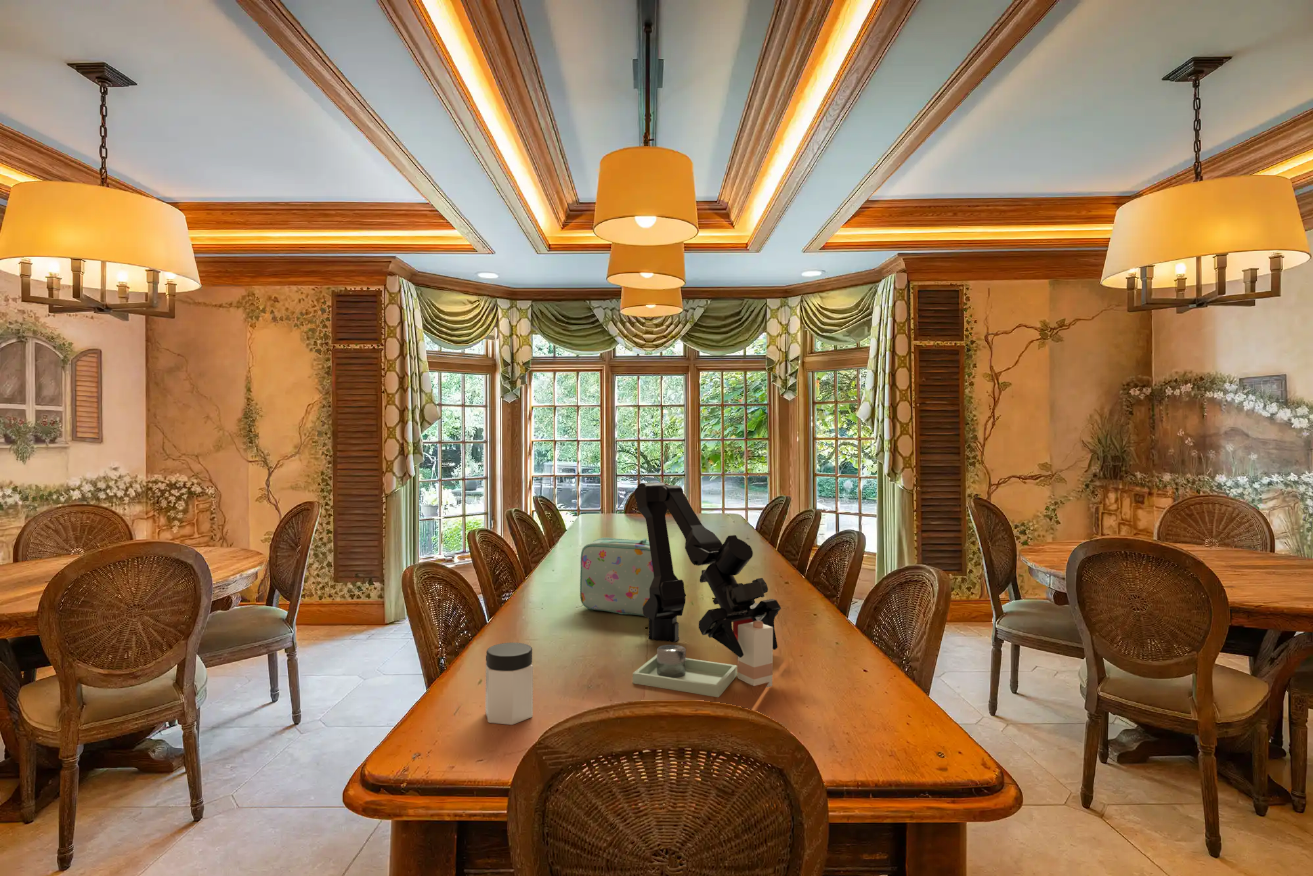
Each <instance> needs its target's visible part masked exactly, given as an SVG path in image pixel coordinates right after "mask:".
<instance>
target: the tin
mask: <svg viewBox="0 0 1313 876" xmlns="http://www.w3.org/2000/svg"><path fill="white" fill-rule="evenodd" d="M686 651H687V648H685V647H684V646H682V645H679V644H678V645H676V644H664V645H660V646H658V647H657V649H656V655H657V674H658V675H659V676H664V677H670V678H679V677H682V676H684V675H685V674H686V658H687V657H686V656H687V655H686V654H687V652H686Z"/></svg>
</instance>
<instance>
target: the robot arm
mask: <svg viewBox="0 0 1313 876" xmlns="http://www.w3.org/2000/svg"><path fill="white" fill-rule="evenodd" d="M633 495H634V498H635V503H636V507H637V510H638V511H639V512H640V514H641V515H642V516H643V517H644V519H645V522H646V523H645V524H646V529H647V537H648V540H649V545H650V552H651V559H652V566H653V573H654V578H653V581H652V583H651V586H650V588H649V593H650V598H649V599H648V601H647V602H646V603H645V605H644V606H643V608H642V609H643V615H644V616H643V617H644V618H647V619H648V640H654V641H657V642H658V641H659V642H669V643H676V642H677V641H678V640H679V639H680V635H679V622H678V621H677V620H678V617H680V616H683V613H684V609H685V605H686V597H687V593H686V591H685V583H684V580H683V579H679V578H678V577H677V575H675V572H674V565H673V558H672V552H671V547H670V539H669V533H668V531H669V530H668V526H667V525H668V524H667V519H666V515H667V512H668V511H669V513H670V515H671V516H672V518H673V520H674V521H675V522H676V525H677V527H678V529H679V530H680V532H681V533H682V535H683V537H684V540H685V543H684V549H685V552H686V554H687V556H688V559H689V560H690V563H691V564H692V565H694V566H697V567H699V566H707V567H706V568H705V569H702V570H701V574H700V576H699V582H700V583H701V584H702V583H703V584H704V583H707V584H708V587H709V588H710V590H711V592H712V595H713V596H714V598H713V599H712V603H713V604H714V605H718V606H719V607H716V608H712V609H711V608H710V609H708V610H707V611H706V612H705V614H704V615H703V616H702V618H701V619H700V620H698V629H699V631H700V633H701V635H702V636H708V638H709V639H710V638H711V639H714V640H715V641H717V642H718V643H720V644H721V645H723V646H724V647H725V648H727V649H728V650H729V651H730V652H732V653H733V654H735V655H736V656H737V658H738V657H740V658H741V657H742V656H743V655H744V654H743V651H742V649H741V646H740V644H739V642H738V640H737V638H736V636H735V634H734V632H733V622H735V621H740V620H745V619H751V618H752V620H753V621H762V622H763V624H765V625H768V626H771V627H773V650H774V651H775V650H777V649H778V646H779V645H778V642H777V641H778V640H777V635H776V630H775V618H776V616H777V615H778V614H779V612H780V610H782V607H781V605H780V604H779V602H778V600H777V599H774V598H769V599H764V600H760V601H759V604H758V605H757V606H756V607H755V608H753V609H751V608H750V606H751V605H753V604H754V603H756V601H755V600H757V599H759V598H764V597H765V593H768V591H769V588H768V584H767V582H766V581H765V579H764V578H763V577H760V578H759V577H758V578H756V579H752V581H751V582H747V583H742V582H741V583H738V582H737V579H736V578H735V576H737V575H739V574H740V572H741V571H742V570H743V569H744V567H746V566H747V564H748V563H749V562H750V561H751V559H752V558H753V556H754V552H753V548H752V547H751V546H750V545H749V544H748V543H747V542H746V541H745V540H742V539H740V538H738V536H737V535H735V534H732V535H731V534H730V535H727V537H726V538H725V541H724V542H722V541H721V540H720V539H719V538H718V536H717V535H716V534H715V533H714V532H712V531H711V530H709V529H708V528H706V527H705V526H704V525H703V523H702V522H701V520H700V519H699V517H698V516H697V514H696V513H695V511H694V509H693V508H692V506H691V505H690V502H689V501H688V499H687V498H686V496H685V494H684V490H683V488H682V487H681V486H679V485H674V484H673V485H670V484H669V485H666V483H664V482H658V481H657V482H640V483H639V484H638V485H637V487H636V488H635V490H634V494H633Z"/></svg>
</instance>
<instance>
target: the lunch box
mask: <svg viewBox="0 0 1313 876" xmlns="http://www.w3.org/2000/svg"><path fill="white" fill-rule="evenodd" d="M579 572H580V577H579V596H580V602H581V604H582V606H583V607H585V608H586V609H588V610H595V611H604V612H609V613H610V612H611V613H614V614H619V615H633V616H643V617H644V615H643V609H642V608H643V606H644V605H645V603H646V602H647V601H648V599H649V598H650V593H649V588H650V586H651V583H652V581H653V578H654V573H653V566H652V559H651V552H650V545H649V539H647V538H645V537H644V538H642V539H629V538H627V539H626V538H613V537H601V538H600V537H599V538H597V539H595V540H593V541H592V542H590V543H588V544H586V545H584V546H583V547H582V549H581V553H580V570H579Z"/></svg>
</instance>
